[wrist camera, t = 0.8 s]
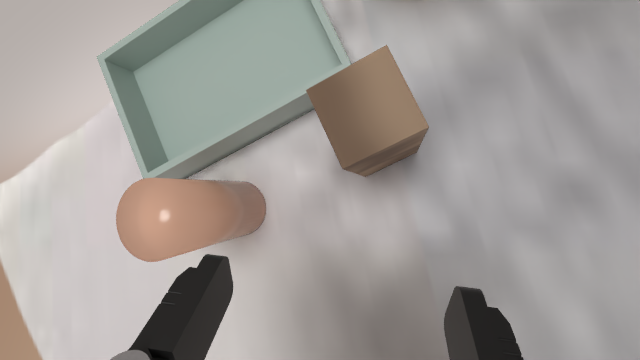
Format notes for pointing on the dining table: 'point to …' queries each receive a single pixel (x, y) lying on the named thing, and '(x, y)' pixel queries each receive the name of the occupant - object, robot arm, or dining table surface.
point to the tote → (217, 78)
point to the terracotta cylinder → (185, 215)
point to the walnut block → (369, 114)
